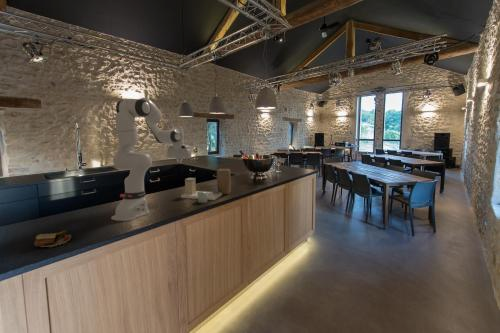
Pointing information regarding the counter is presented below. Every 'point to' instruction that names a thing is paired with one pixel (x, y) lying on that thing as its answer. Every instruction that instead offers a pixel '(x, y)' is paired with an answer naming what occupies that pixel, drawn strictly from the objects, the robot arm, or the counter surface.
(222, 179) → the wooden block
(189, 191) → the carton
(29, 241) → the counter surface
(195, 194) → the white tray
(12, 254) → the counter surface
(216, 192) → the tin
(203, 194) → the sage green capsule
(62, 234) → the toy sandwich meal
